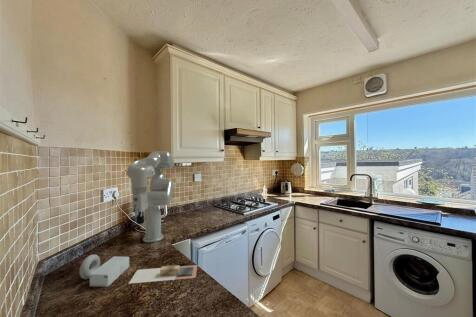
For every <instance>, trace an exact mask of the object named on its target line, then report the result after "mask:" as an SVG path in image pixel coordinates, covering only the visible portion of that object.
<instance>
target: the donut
mask: <svg viewBox="0 0 476 317" xmlns="http://www.w3.org/2000/svg"><path fill="white" fill-rule="evenodd" d="M100 266H101V259H100V256H99V255H97V254H90V255H88V256H87V257H85V258H84V259H83V261H81V264H80V267H79V276H80V278H81V279H83V280H90V275H89V274H91V273H92V272H93V271H95V270H96V269H97V268H99V267H100Z"/></svg>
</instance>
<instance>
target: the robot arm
mask: <svg viewBox="0 0 476 317" xmlns="http://www.w3.org/2000/svg"><path fill="white" fill-rule="evenodd" d="M174 166H175V161H174V158H173V156H172V154H171V153H170V152H169V151H167V150H163V151H162V150H160V151H159V150H156V151H151V152H150V153H149V154H148V155H147V157H145V158H141V159H138V160H136V161H133V162H132V163H131V164H130V165H129V166H128V167H127V170H126V175H127V177H128V178H129V179H131V180H130V181H131V182H130V184H131V194H132V196H131V197H132V199H131V200H132V201H131V202H132V203H131V208H132V213H134V216H136V224H137V225H141V224H143V223H144V225H145V229H144V230H145V236H144V237H142V241H143V242H144V243H155V242H159V241H161V240H162V239H164V234H163V233H162V212H161V209H160V208H159V206H169V205H170V204H172V203H171V202H172V199H173V193H174V181H173V180H172V179H171V178H165V174H164V173H163V171H161V170H167V169H173V168H174ZM148 179H150V182H149V183H150V184H149V189H148ZM148 190H149V191H148Z"/></svg>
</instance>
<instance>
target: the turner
mask: <svg viewBox="0 0 476 317" xmlns="http://www.w3.org/2000/svg"><path fill="white" fill-rule="evenodd" d="M160 268H161V269H160V276H169V275H177V277H180V276H192V274H193V268H194V267H185V268H180V264H177V265H176V264H175V265H166V266H165V265H161V267H160Z"/></svg>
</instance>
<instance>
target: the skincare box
mask: <svg viewBox="0 0 476 317" xmlns="http://www.w3.org/2000/svg"><path fill="white" fill-rule="evenodd" d="M128 268H130V257H129V256H112V257H111V258H110V259H108V260H107V261H106V262H104V263H102V264H101V265H100V266H99V268H97V269H96V270H95V271H93V272H92V273H91V274H89V275H90V279H89V287H105V288H106V287H109V286H110V285H111V284H112V283H113V282H114V281H115V280H117V278H118V277H120V276H121V275H122V274H123V273H124V272H125V271H126V270H127V269H128Z"/></svg>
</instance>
